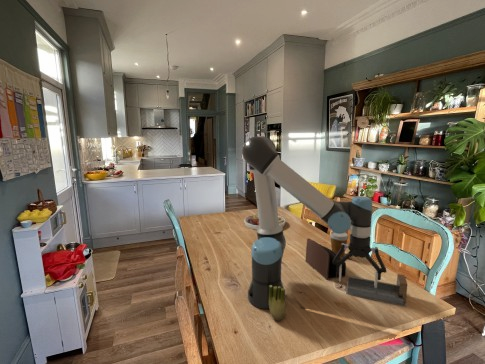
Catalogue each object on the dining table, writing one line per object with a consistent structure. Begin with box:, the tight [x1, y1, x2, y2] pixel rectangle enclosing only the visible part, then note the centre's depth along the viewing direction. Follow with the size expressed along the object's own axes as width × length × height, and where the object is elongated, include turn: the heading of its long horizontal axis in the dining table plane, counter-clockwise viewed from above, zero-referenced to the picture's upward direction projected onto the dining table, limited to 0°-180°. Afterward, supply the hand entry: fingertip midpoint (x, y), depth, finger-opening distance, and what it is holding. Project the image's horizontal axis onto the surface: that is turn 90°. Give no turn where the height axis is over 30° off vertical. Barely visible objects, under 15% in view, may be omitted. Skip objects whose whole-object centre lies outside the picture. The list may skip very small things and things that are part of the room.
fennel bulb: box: [268, 285, 287, 321], centre depth 92 cm, size 6×5×12 cm
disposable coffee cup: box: [329, 231, 349, 258], centre depth 141 cm, size 10×10×12 cm
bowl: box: [244, 213, 286, 231], centre depth 190 cm, size 30×30×8 cm
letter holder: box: [305, 237, 347, 281], centre depth 125 cm, size 10×20×14 cm, turn 15°
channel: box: [345, 273, 408, 307], centre depth 105 cm, size 10×21×9 cm, turn 66°
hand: (357, 283), depth 108 cm, fingers open, 13 cm apart
